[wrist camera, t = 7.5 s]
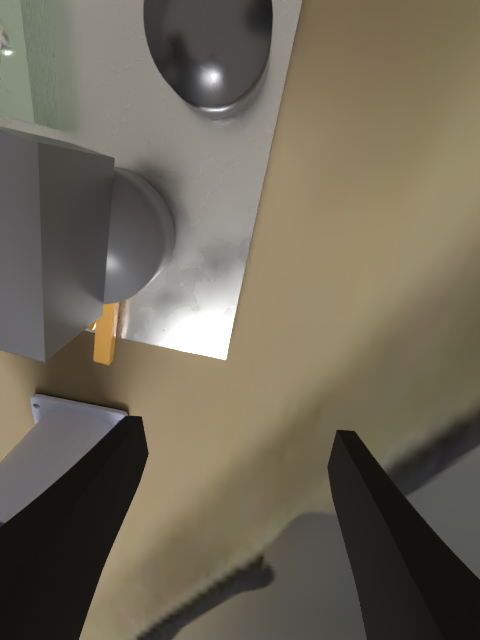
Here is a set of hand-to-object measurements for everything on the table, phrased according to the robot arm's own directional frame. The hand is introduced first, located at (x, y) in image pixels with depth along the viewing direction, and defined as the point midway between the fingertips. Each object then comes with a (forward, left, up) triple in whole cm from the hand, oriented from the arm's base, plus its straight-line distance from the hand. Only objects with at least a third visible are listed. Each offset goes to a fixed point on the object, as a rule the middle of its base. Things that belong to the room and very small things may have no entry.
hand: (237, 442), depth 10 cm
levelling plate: (+7, +11, -9) cm, 16 cm away
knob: (+3, +8, -8) cm, 11 cm away
